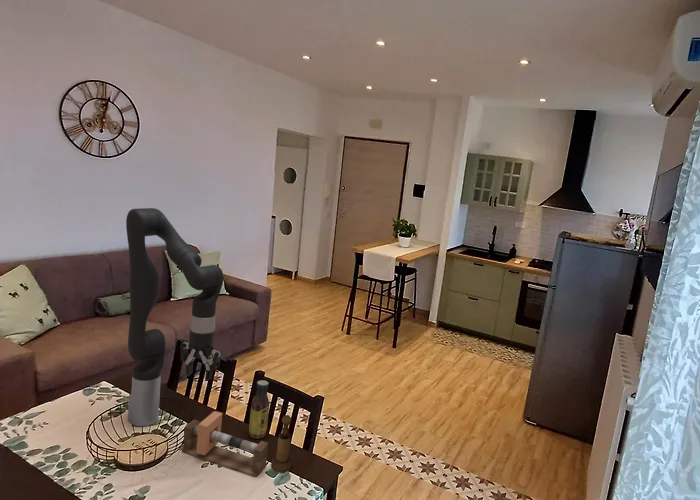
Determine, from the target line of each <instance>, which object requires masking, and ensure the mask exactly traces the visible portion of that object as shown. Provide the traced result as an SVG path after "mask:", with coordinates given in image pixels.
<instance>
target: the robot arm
mask: <svg viewBox="0 0 700 500" xmlns="http://www.w3.org/2000/svg"><path fill="white" fill-rule="evenodd" d="M125 222H126V225H125V226H126V228H125V229H126V238H127V244H128V256H129V301H130V302H129V310H130V311H129V326H128V337H127V349H128V352H129V353H128V354H129V355H130V358H131V359H132V360H134V361H135V362H138V363H137V364H135V365H134V366H133V368H132V375H131V393H130V394H129V395H128V407H127V420H128V421H130V423H131V424H132V425H133V426H136V427H148V426H152V425H154V424H155V423H157V422H158V420H159V415H160V414H159V413H160V397H161V395H160V394H161V379H162V378H161V375H162V370H163V367H164V362H165V355H166V354H165V353H166V338H165V335H164V333H163V332H162V330H160V329H159V328H152V329H148V330H146V329H147V322H148V318H149V316H150V313H151V312H152V310H153V308H154V307H155V304H156V303H157V300H158V299H159V297H160V273H159V271H158V269H157V267H156V266H155V264H154V263H153V261H152V260H151V258H150V256H149V254H148V252H147V247H146V246H147V245H146V237H152V236H153V237H154V236H157V237H158V238H160V239H161V240H163V241H164V242H165V248H166V249H165V250H166V254H167V255H168V257H169V259H170V260H171V261H172V263H174V264H175V266H176V267H177V268H178V269H180V270H181V272H182V274H183V276H184V277H185V280H186V281H187V284H188V285H189V286H190V287H191V288H193V289H194V290H196V291H201V292H200V293H198V294H197V295H195V297H193V299H192V306H191V317H190V322H189V335H188V341H187V340H186V341H182V342H181V343H180V345H179V348H180V361H181V362H184V363H185V373H186V376H191V375H193V372H194V361H195V359H199V360H200V361H202V364H203V365H204V367H205V368H206V370H205V376H204V377H205V378H204V380H205V382H208V381H210V380H211V379H212V378H213V373H214V371H215V370H217V369H218V368H219V367H220V365H221V359H222V354H223V351H222V350H221V349H219V350H216V349H215V347H214V342H215V333H216V332H215V330H216V309H217V301H218V299H219V296H220V292H221V290H222V287H223V286H224V285H223V284H224V273H223V270H222V268H221V267H220V266H219V265H216V264H209V265H204V266H201V265H202V261H203V260H202V257H201V256H200V254H199V253H198V252H197V251H195V249H193V248H192V247H191V246H190V245H189V244H188V243H187V242H186V241H185V240H184V239H183V238H182V237H181V236H180V234H179V233H178V232H177V230H176V228H174V226H173V225H172V224H171V221H170V220H169V219H168V218H167V217H166V215H165V214H164V213H163V212H162V211H161V210H160V209H158V208H155V207H154V208H153V207H150V208H149V207H148V208H146V207H145V208H143V207H141V208H140V207H139V208H132V209H130V210H129V211H128V212H127V215H126V221H125ZM189 351H190V353H189Z"/></svg>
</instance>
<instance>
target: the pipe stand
mask: <svg viewBox="0 0 700 500" xmlns="http://www.w3.org/2000/svg"><path fill="white" fill-rule="evenodd" d="M199 423H201V421H200V420H197V419H192V421H190V422H189V423H188V424H187V425H185V426H184V434H183V448H182V450H181V453H182V454H185V455H188V456H191V457H193V458H197V459H200V460H203V461H204V462H205V461H206V462H208V463H210V464H211V463H212V464H214V465H217V466H220V467H224V468H227V469H228V470H232V471H236V472H238V473H241V474H244V475H246V476H250V477H253V478H255V477H259V476H260V475H261V473H262V472H263V471H264V470H265V468H267V464H268V463H267V459H268V450H269V442H266V441H263V440H261V441H260V442H259V443H255V442H252V441H249V440H246V439H243V438H240V437H237V436H234V435H231V434H227V433H224V432H222V431H221V432H218V431H215V430H212V431H211V432H210V440H213V441H216V442H218V443H219V444H223V445H225V446H228V447H230V448H231V447H232V448H235V449H239V450H241V451H244V452H248V453H250V454H252V455H253V456H252V457H251V456H247V455H244V454H242V453H239V452H237V451H236V452H235V451H232V450H230V449H225V448H223V447H221V446H217V445H215V446H214V447H213V448H212V449H211V450H210V451H209V452H208V453H207V454H206V455H202V454H199V453H196V451H197V437H198V424H199ZM263 469H264V470H263Z"/></svg>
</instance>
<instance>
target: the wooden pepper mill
mask: <svg viewBox="0 0 700 500" xmlns="http://www.w3.org/2000/svg"><path fill="white" fill-rule="evenodd" d="M281 422H282V425H283V427H281V432H280V433H279V434H278V439H277V447H276V454H275V455H274V456H273V457H272V459H271V462H270V468H271V470H272V469H273V470H272V471H274V472H275V471H276V472H275V473H278V472H281V474H285V473H288V472H290V471H291V469H292V466H293V459H292V457H291V456H290V446H291V439H292V437H291V436H292V435H291V433H290V428H289V426H290V424H291V423H292V417H291V415H288V414H285V415H283V417H281ZM282 472H283V473H282ZM284 472H285V473H284Z"/></svg>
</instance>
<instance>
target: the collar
mask: <svg viewBox="0 0 700 500" xmlns="http://www.w3.org/2000/svg"><path fill="white" fill-rule="evenodd" d="M222 421H223V412H220V411H215V410H214V411H212V412H211V413H210V414H209V415H208V416H207V417H205V418H204V419H203V420H202V421H200V423H199V424H198V437H197V451H196V453H199V454H202V455H206V454H207V453H208V452H209V451H210V450H211V449H212V448H213V447H214V446H217V444H218V443H219V442H216V441H213V440H210V432H211V431H212V430H215V431H218V432H221V433H222V424H223V423H222Z"/></svg>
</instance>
